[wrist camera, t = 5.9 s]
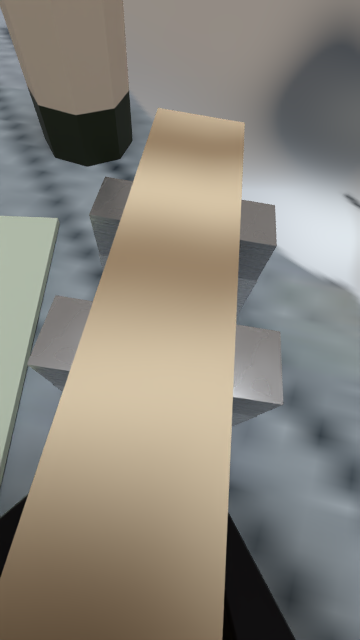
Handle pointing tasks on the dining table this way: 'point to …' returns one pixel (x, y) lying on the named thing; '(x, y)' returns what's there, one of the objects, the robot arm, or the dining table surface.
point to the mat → (20, 307)
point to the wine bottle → (75, 74)
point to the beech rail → (143, 416)
